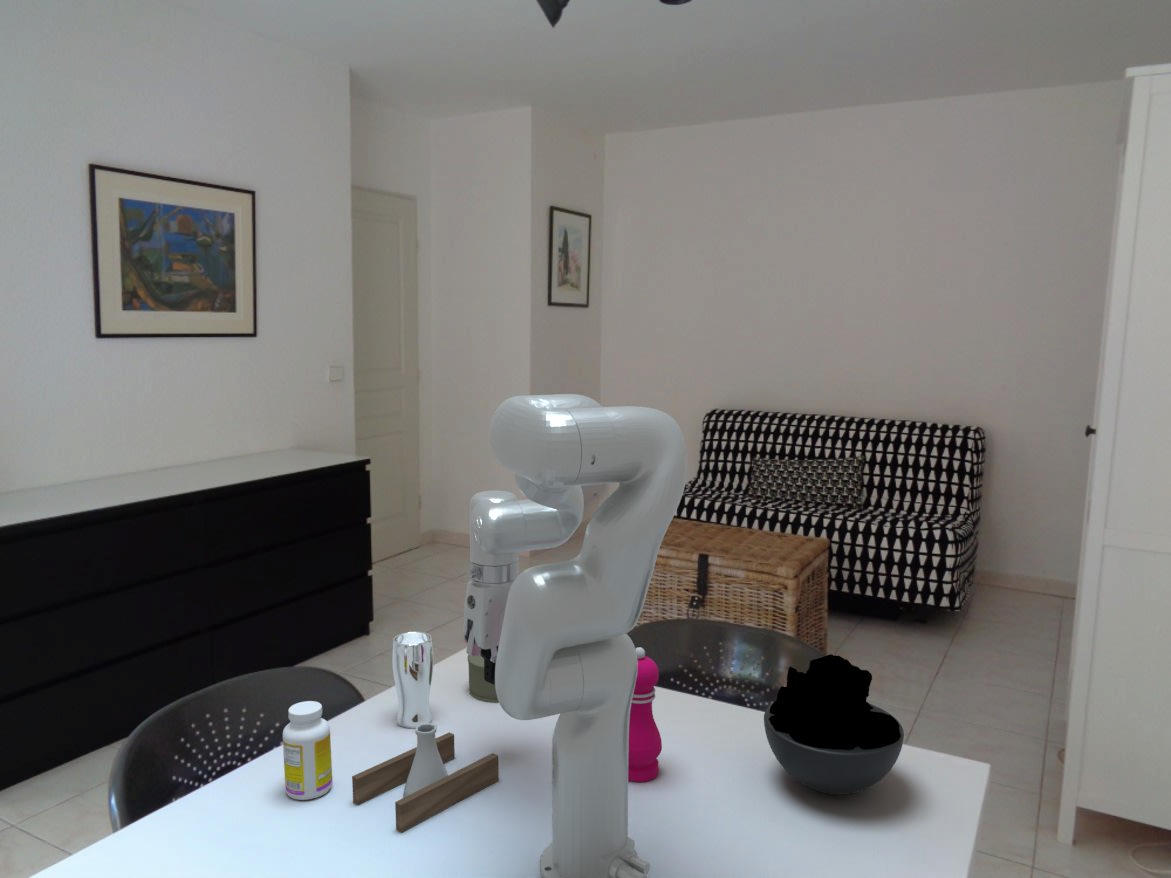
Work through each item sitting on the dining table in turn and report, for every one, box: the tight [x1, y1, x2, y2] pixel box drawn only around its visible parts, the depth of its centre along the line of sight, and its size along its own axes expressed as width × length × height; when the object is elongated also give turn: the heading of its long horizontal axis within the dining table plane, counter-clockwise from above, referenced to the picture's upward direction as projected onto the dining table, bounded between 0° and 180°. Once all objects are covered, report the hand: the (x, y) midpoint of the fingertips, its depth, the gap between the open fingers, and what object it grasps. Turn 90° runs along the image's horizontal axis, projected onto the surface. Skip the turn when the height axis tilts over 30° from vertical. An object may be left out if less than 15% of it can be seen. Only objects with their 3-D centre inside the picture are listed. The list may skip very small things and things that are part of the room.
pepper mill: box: [628, 646, 663, 783], centre depth 130 cm, size 7×7×20 cm
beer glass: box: [391, 631, 434, 729], centre depth 148 cm, size 7×7×15 cm
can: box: [467, 654, 500, 704], centre depth 161 cm, size 12×12×7 cm
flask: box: [402, 722, 449, 798], centre depth 125 cm, size 7×7×10 cm
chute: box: [351, 732, 500, 833], centre depth 126 cm, size 11×18×4 cm, turn 139°
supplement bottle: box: [282, 700, 333, 801], centre depth 126 cm, size 7×7×13 cm
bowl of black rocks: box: [763, 653, 905, 795], centre depth 127 cm, size 20×20×19 cm
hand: (494, 681), depth 136 cm, fingers closed
